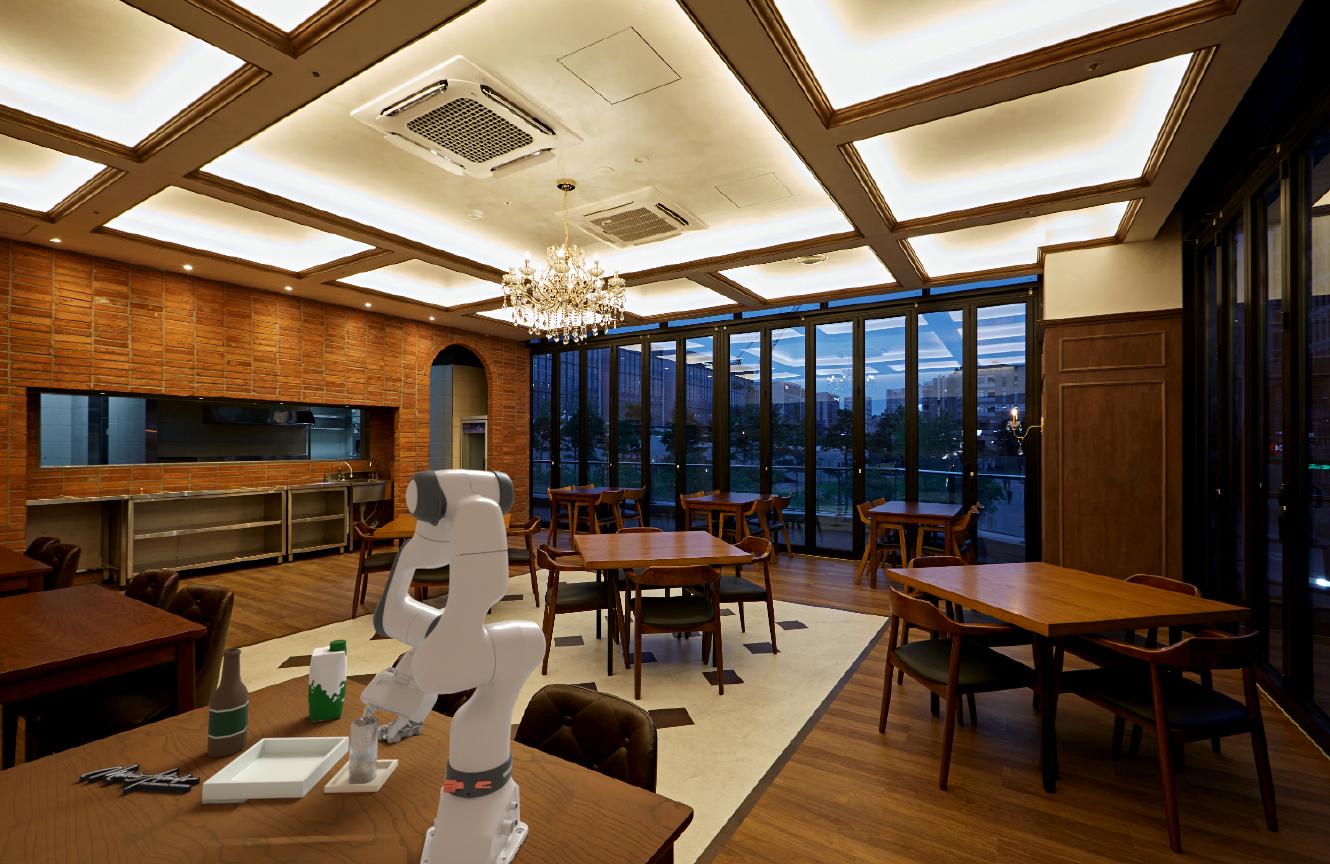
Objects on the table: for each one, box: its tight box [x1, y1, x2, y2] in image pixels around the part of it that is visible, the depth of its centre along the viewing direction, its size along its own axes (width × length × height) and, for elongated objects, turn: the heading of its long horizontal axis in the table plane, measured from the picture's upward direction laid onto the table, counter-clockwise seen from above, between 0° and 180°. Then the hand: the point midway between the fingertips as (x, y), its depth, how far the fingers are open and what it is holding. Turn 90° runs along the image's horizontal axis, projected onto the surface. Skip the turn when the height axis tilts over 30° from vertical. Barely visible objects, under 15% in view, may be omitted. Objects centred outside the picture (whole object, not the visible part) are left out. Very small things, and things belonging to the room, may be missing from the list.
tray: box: [323, 759, 399, 794], centre depth 130 cm, size 11×11×2 cm
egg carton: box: [378, 718, 427, 744], centre depth 151 cm, size 11×8×4 cm
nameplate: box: [78, 763, 201, 797], centre depth 128 cm, size 28×2×10 cm
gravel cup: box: [348, 715, 379, 784], centre depth 130 cm, size 6×6×13 cm
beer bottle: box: [207, 647, 250, 759], centre depth 144 cm, size 8×8×24 cm
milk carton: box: [307, 639, 348, 722], centre depth 163 cm, size 9×9×20 cm
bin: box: [201, 736, 350, 805], centre depth 131 cm, size 20×20×4 cm
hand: (374, 731), depth 132 cm, fingers open, 8 cm apart
